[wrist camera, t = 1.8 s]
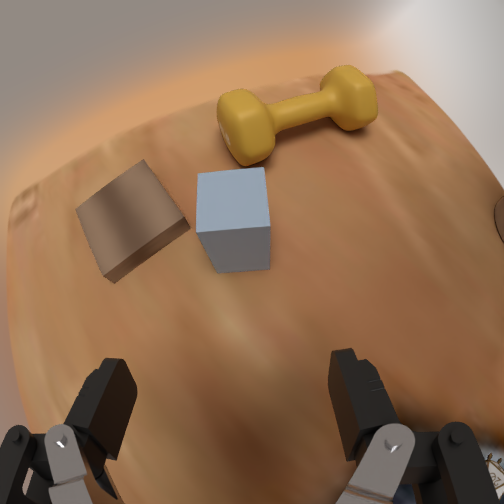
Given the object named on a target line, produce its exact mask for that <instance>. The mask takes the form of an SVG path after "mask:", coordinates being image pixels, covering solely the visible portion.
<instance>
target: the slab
mask: <svg viewBox="0 0 504 504" xmlns="http://www.w3.org/2000/svg"><path fill="white" fill-rule="evenodd" d="M76 212H77V215H78V218H79V220H80V223H81V226H82V228H83V231H84V233H85V236H86V238H87V241H88V243H89V246H90V248H91V250H92V253H93V255H94V257H95V260H96V262H97V264H98V266H99V269H100V271H101V273H102V275H103V276H104V277H105V278H107V279H108V280H110V281H112V282H113V283H116V282H117V281H119V280H120V279H121V278H123V277H124V276H125V275H127V274H128V273H129V272H131V271H132V270H133V269H135V268H136V267H137V266H139V265H140V264H142V263H143V262H144V261H146V260H147V259H148V258H150V257H151V256H152V255H154V254H155V253H157V252H158V251H159V250H161V249H162V248H164V247H165V246H166V245H168V244H169V243H171V242H172V241H173V240H175V239H176V238H178V237H179V236H181V235H182V234H183V233H185V232H186V231H188V230H189V229H191V228H190V226H189V224H188V223H187V221H186V219H185V217H184V216H183V214H182V213H181V211H180V210H179V209H178V207H177V206H176V204H175V203H174V202H173V200H172V199H171V197H170V196H169V195H168V193H167V192H166V190H165V189H164V188H163V186H162V185H161V183H160V182H159V180H158V179H157V178H156V176H155V175H154V173H153V172H152V170H151V169H150V168H149V166H148V165H147V163H146V162H145V160H144V159H143V160H142V161H140V162H139V163H137V164H136V165H134V166H133V167H131V168H130V169H128V170H127V171H125V172H124V173H123V174H121V175H120V176H118V177H117V178H115V179H114V180H113V181H111V182H110V183H109V184H107V185H106V186H104V187H103V188H102V189H100V190H99V191H98V192H96V193H95V194H94V195H93V196H91V197H90V198H89V199H87V200H86V201H85V202H84V203H82V204H81V205H80V206H79V207H77V208H76Z"/></svg>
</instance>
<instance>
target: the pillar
mask: <svg viewBox="0 0 504 504" xmlns="http://www.w3.org/2000/svg"><path fill="white" fill-rule="evenodd" d="M196 233H197V235H198V237H199V239H200V241H201V243H202V245H203V247H204V249H205V251H206V253H207V254H208V256H209V258H210V260H211V262H212V264H213V266H214V268H215V270H216V272H217V273H229V272H243V271H255V270H268V269H270V218H269V208H268V199H267V190H266V181H265V172H264V167H260V168H248V169H236V170H226V171H216V172H208V173H199V174H198V185H197V214H196Z"/></svg>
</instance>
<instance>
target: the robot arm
mask: <svg viewBox="0 0 504 504" xmlns="http://www.w3.org/2000/svg"><path fill="white" fill-rule="evenodd" d="M495 221H496V225H497V228H498V231H499V234H500V236H501V238H502V240H503V241H504V196H503V197H502V198H501V199H500V200H499V201H498V202H497V204H496V207H495ZM328 388H329V393H330V397H331V401H332V405H333V409H334V412H335V416H336V420H337V424H338V428H339V432H340V436H341V440H342V444H343V448H344V452H345V457H346V461H347V462H348V461H352V460H355V461H356V464H357V469H356V471H355V473H354V475H353V476H352V478H351V480H350V482H349V483H348V485H347V487H346V488H345V490H344V491H343V493H342V495H341V496H340V498H339V499H338V501H337V502H336V504H393V501H392V499H393V496H394V494H395V492H396V489H397V487H398V485H399V484H412V487H413V491H414V495H415V499H416V503H417V504H500V501H499V498H498V495H497V492H496V489H495V486H494V483H493V480H492V478H491V475H490V472H489V470H488V467H487V465H486V462H485V460H484V457H483V455H482V452H481V450H480V448H479V445H478V443H477V441H476V438H475V436H474V434H473V432H472V430H471V429H470V427H469V426H467V425H466V424H464V423H462V422H451V423H448V424H447V425H445V426H444V427H443V428H442V429H441V431H440V432H414V431H411V430H410V429H409V428H408V427H406V426H404V425H402V424H401V423H400V421H399V419H398V417H397V415H396V412H395V410H394V408H393V405H392V403H391V401H390V398H389V396H388V394H387V392H386V389H384V385H383V383H382V380H380V376H379V374H378V372H377V369H376V367H374V366H373V365H372V364H371V363H370V362H369V361H368V360H367V359H364V360H359V361H358V360H357V358H356V355H355V353H354V351H353V349H352V348H348V349H342V350H335V351H332V352H331V359H330V367H329V375H328ZM136 398H137V386H136V383H135V381H134V379H133V377H132V375H131V373H130V371H129V369H128V366H127V364H126V362H125V361H124V360H123V359H116V358H105V359H104V360H103V362H102V364H101V365H100V367H99V369H95V370H94V371H93V372H92V373H91V374H90V375H89V376H88V377H87V378H86V380H85V382H84V384H83V386H82V388H81V390H80V392H79V396H77V398H76V400H75V402H74V404H73V406H72V408H71V410H70V412H69V414H68V416H67V418H66V420H65V422H64V424H59V425H55V426H53V427H52V428H50V429H49V430H48V432H47V433H46V434H31V433H30V432H29V430H28V429H27V428H26V427H24V426H22V425H16V426H14V427H12V428H11V429H9V431H8V432H7V434H6V436H5V438H4V440H3V442H2V445H1V447H0V504H125V503H124V502H123V500H122V498H121V496H120V494H119V492H118V490H117V488H116V486H115V484H114V482H113V480H112V478H111V475H110V473H109V471H108V469H107V467H106V465H105V461H106V458H107V459H111V460H116V461H117V457H118V454H119V451H120V447H121V444H122V441H123V438H124V435H125V431H126V428H127V425H128V422H129V419H130V416H131V413H132V410H133V407H134V404H135V401H136ZM28 468H30V469H32V470H33V475H32V477H31V480H30V484H29V487H28V490H27V493H26V495H24V493H23V490H22V486H23V483H24V480H25V477H26V474H27V471H28Z"/></svg>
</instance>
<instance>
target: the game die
mask: <svg viewBox="0 0 504 504" xmlns="http://www.w3.org/2000/svg"><path fill="white" fill-rule="evenodd" d="M487 458H488V459H487V460H485V462H486V465H487V467H488V470H489V472H490V475H491V478H492V480H493V483H494V486H495V489H496V492H497V495H498V498H499V500H500V498H501V496H502V495H503V493H504V470H503V468H502V467H501V466H500V465H499V463H501V461H502V458H500V459H499V460H498V461H497V462H494V461H492V460H490V459H491V458H492V453H490V454H489V455H488V457H487Z"/></svg>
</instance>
